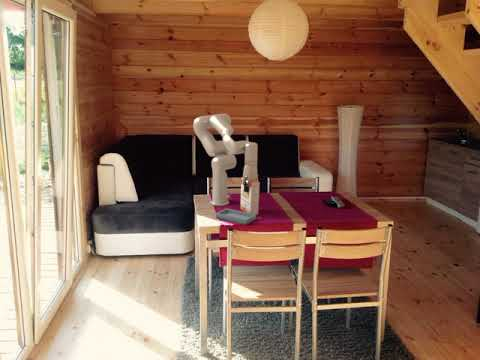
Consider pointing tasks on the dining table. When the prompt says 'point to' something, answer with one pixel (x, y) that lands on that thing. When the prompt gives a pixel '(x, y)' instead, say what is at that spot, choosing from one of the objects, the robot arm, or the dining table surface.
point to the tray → (236, 216)
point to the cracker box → (250, 197)
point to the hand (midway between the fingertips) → (250, 190)
